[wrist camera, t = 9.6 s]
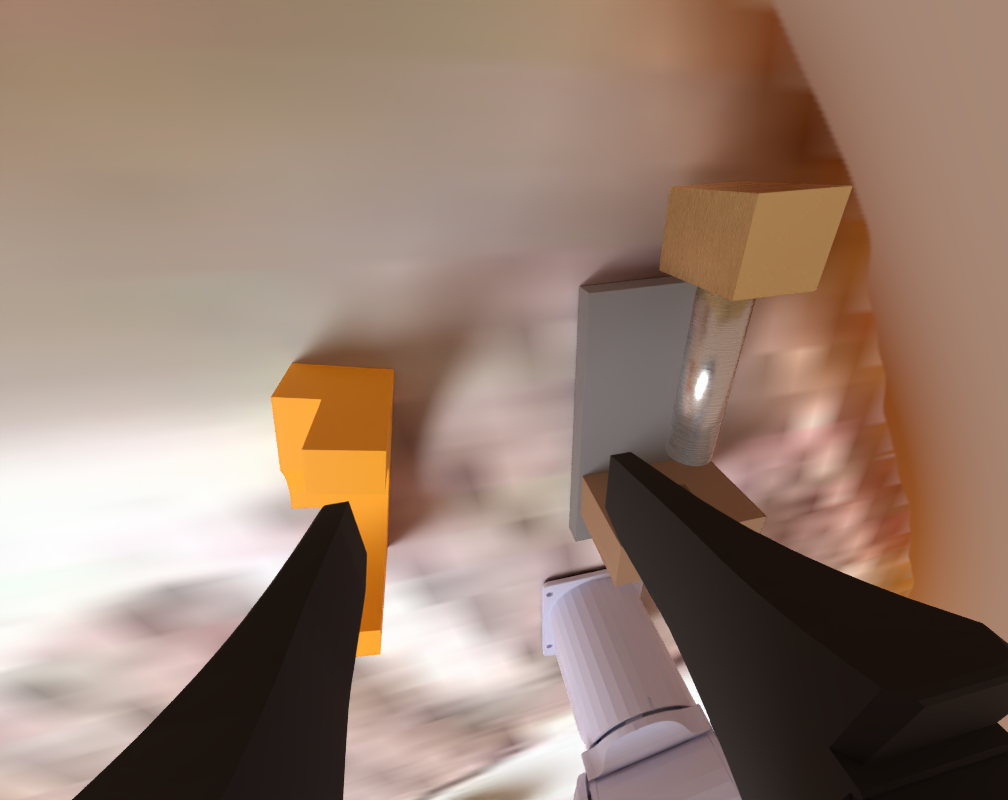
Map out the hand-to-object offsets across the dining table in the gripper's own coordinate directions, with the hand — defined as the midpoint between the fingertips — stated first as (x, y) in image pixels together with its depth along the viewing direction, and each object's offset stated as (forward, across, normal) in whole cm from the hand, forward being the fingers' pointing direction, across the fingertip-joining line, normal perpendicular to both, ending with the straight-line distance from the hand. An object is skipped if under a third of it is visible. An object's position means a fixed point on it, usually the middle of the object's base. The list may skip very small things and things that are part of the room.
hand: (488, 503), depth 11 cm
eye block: (+9, -10, +4) cm, 14 cm away
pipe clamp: (+10, +6, +5) cm, 13 cm away
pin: (+7, -10, -2) cm, 12 cm away
